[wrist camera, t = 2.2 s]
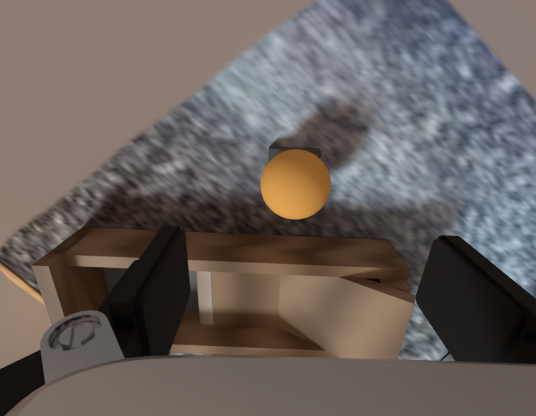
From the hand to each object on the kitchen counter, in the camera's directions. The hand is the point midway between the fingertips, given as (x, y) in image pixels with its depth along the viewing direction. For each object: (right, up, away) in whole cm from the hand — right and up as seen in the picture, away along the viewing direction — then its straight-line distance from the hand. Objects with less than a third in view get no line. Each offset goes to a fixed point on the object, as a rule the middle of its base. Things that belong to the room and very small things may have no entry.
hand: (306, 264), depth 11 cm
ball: (+1, +4, +10) cm, 10 cm away
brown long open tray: (-5, -5, +17) cm, 18 cm away
